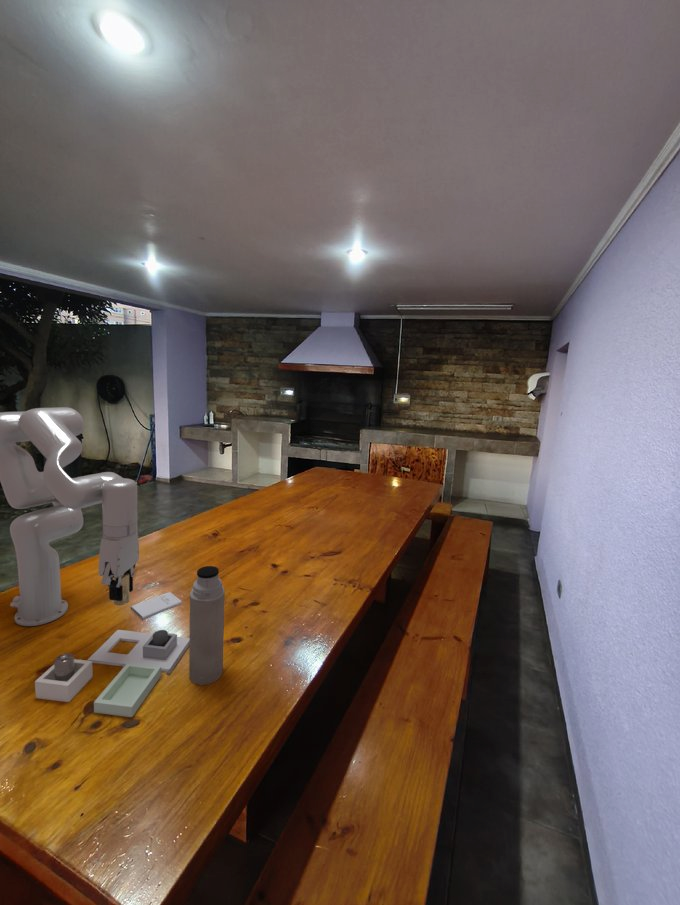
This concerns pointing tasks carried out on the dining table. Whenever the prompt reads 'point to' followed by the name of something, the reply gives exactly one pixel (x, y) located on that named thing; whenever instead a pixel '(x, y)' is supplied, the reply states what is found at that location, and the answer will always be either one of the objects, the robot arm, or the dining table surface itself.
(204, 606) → the thermos bottle
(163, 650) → the checker
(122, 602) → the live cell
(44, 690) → the white open box
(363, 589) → the dining table surface
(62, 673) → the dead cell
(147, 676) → the pale green trough
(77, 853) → the dining table surface
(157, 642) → the test button
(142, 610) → the external hard drive
